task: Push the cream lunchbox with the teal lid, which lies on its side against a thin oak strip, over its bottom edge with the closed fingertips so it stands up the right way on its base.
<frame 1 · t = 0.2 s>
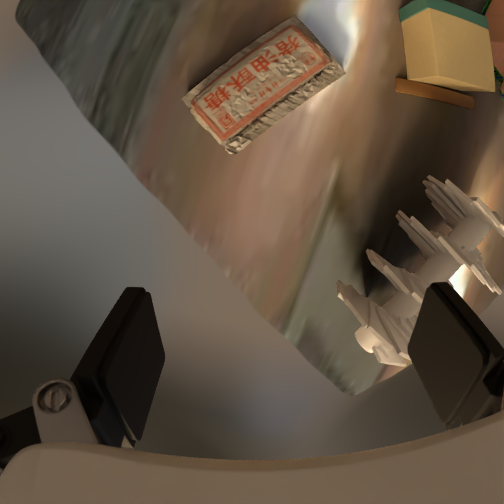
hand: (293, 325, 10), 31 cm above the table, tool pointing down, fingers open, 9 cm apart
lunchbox: (433, 50, 29), on the table
packaged product: (263, 83, 33), on the table
oak strip: (437, 93, 32), on the table
spiral staircase: (401, 251, 43), on the table
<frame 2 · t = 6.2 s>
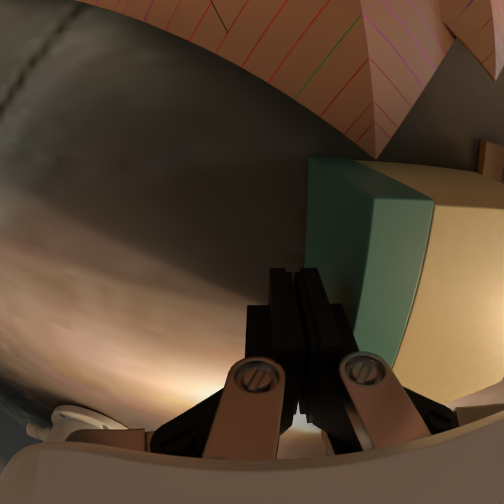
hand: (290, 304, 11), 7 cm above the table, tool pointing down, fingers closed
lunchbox: (394, 247, 17), on the table, touching gripper, oak strip
oak strip: (472, 243, 17), on the table
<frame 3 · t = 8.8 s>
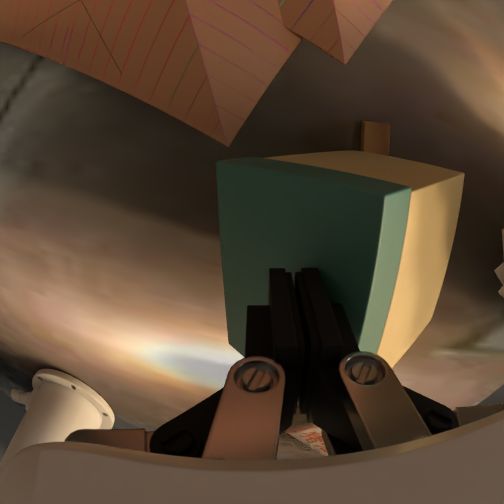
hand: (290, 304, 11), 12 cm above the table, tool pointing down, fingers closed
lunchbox: (298, 237, 18), point 4 cm above the table, tilted 39°, touching gripper, oak strip
packaged product: (337, 414, 32), on the table
oak strip: (367, 216, 21), on the table
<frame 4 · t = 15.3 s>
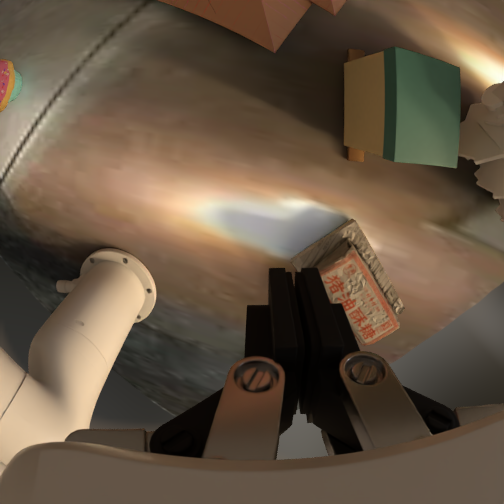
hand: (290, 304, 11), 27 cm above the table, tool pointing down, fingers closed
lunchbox: (366, 102, 26), point 7 cm above the table, tilted 98°, touching oak strip
packaged product: (352, 283, 42), on the table
oak strip: (356, 104, 31), on the table
cupcake: (14, 85, 29), on the table
spiral staircase: (495, 155, 33), on the table
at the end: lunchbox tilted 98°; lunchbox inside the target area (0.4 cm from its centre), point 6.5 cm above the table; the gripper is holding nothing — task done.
